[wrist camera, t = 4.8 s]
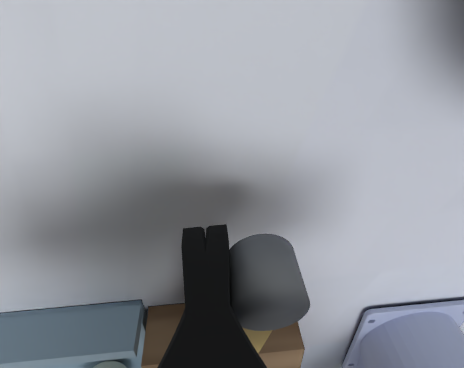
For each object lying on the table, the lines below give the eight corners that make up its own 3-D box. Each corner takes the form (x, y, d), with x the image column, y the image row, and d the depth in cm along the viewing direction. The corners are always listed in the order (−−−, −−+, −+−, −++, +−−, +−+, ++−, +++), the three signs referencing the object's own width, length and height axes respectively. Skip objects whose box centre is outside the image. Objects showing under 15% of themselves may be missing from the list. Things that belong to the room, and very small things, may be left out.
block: (279, 362, 26) (291, 419, 23) (171, 373, 26) (168, 433, 23) (293, 269, 19) (313, 335, 16) (140, 283, 18) (128, 354, 15)
